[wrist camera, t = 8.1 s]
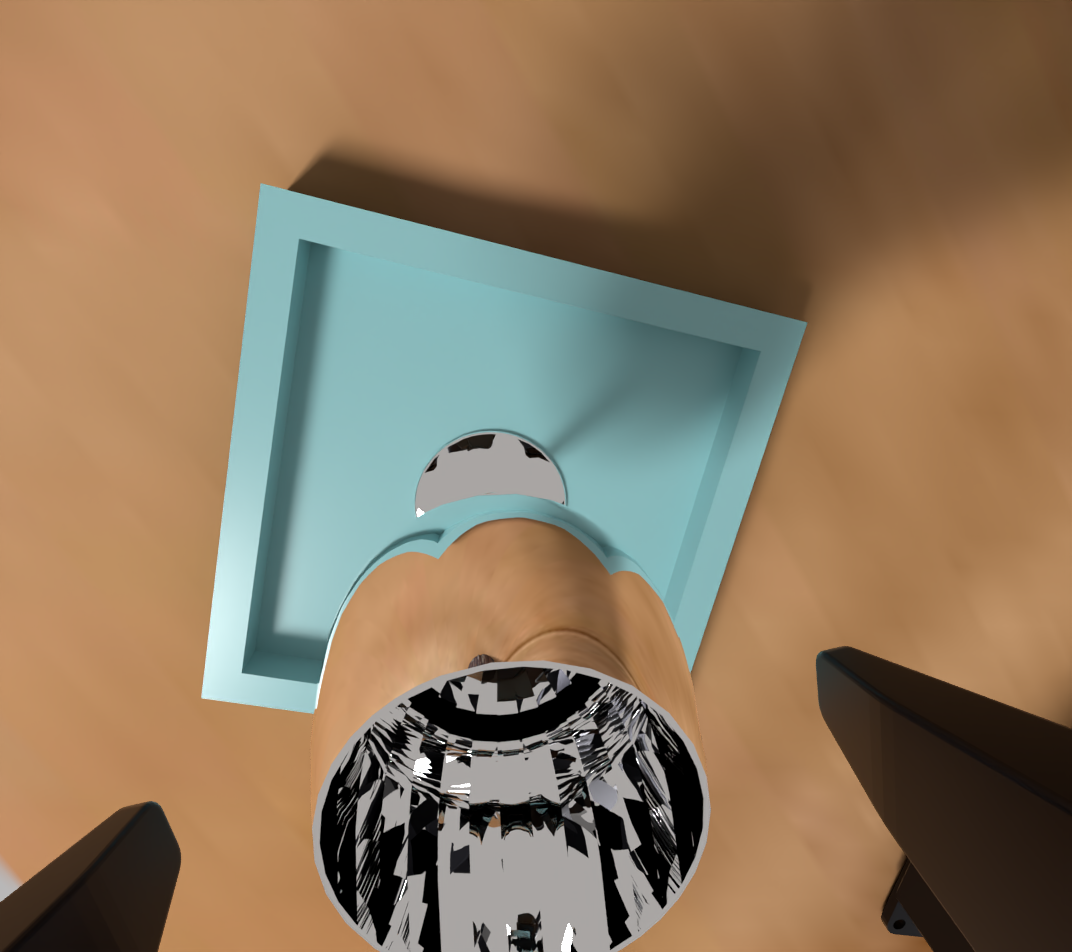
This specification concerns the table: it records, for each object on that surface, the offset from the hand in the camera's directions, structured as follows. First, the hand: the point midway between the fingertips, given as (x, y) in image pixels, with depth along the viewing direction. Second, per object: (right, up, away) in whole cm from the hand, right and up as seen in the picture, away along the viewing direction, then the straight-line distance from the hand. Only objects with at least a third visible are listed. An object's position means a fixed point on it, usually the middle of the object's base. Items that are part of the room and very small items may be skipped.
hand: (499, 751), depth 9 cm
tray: (-1, +3, +11) cm, 11 cm away
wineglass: (-1, +3, +10) cm, 11 cm away
